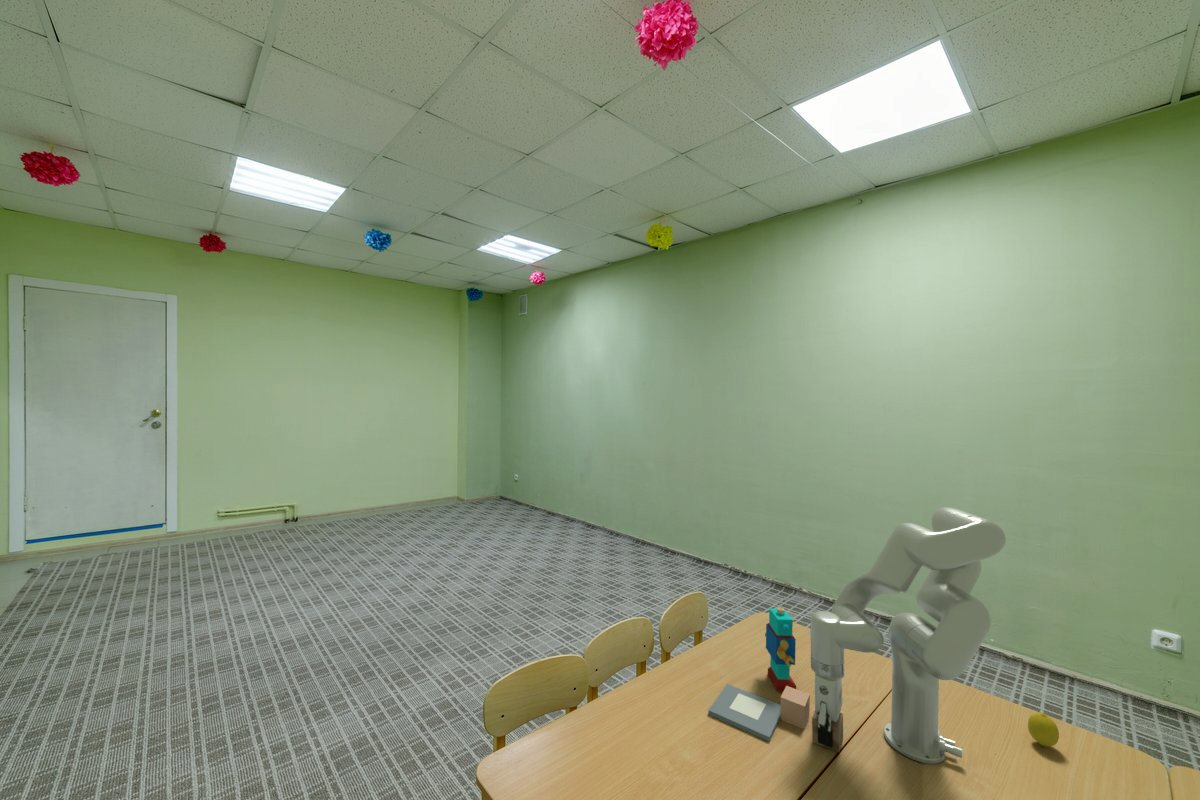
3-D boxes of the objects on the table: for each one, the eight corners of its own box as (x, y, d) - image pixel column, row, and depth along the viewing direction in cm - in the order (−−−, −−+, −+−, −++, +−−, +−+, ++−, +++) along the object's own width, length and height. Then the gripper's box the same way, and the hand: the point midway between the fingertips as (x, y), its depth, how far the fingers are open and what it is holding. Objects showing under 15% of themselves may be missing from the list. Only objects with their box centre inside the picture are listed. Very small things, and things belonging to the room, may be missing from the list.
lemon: (1048, 756, 109) (1049, 723, 109) (1021, 739, 114) (1022, 708, 114) (1064, 752, 111) (1065, 719, 110) (1037, 735, 116) (1038, 704, 116)
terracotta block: (809, 716, 122) (809, 694, 122) (804, 729, 117) (804, 706, 117) (786, 707, 125) (786, 685, 125) (780, 719, 121) (780, 697, 120)
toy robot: (798, 695, 130) (800, 609, 130) (777, 695, 130) (778, 608, 130) (783, 671, 142) (784, 591, 141) (763, 670, 142) (765, 591, 141)
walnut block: (843, 737, 114) (842, 713, 114) (839, 752, 109) (839, 727, 109) (817, 727, 117) (816, 704, 117) (812, 741, 113) (812, 717, 112)
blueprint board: (784, 710, 124) (784, 706, 124) (769, 742, 112) (769, 737, 112) (727, 687, 133) (727, 683, 133) (708, 714, 122) (708, 709, 122)
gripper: (838, 688, 104) (839, 766, 104) (849, 653, 118) (849, 722, 118) (803, 676, 108) (803, 751, 108) (817, 644, 122) (818, 710, 122)
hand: (827, 735), depth 113 cm, fingers closed on walnut block, 6 cm apart
